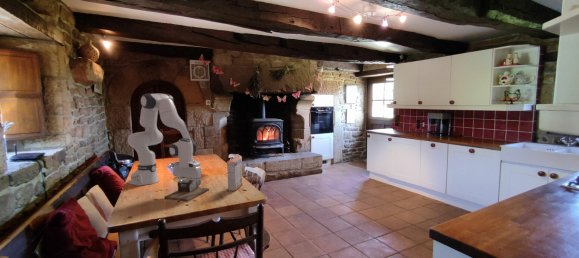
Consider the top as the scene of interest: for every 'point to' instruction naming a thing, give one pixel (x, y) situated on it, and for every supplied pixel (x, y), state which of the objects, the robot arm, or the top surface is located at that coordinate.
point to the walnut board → (187, 194)
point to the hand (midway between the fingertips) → (187, 183)
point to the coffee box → (188, 184)
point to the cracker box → (234, 174)
